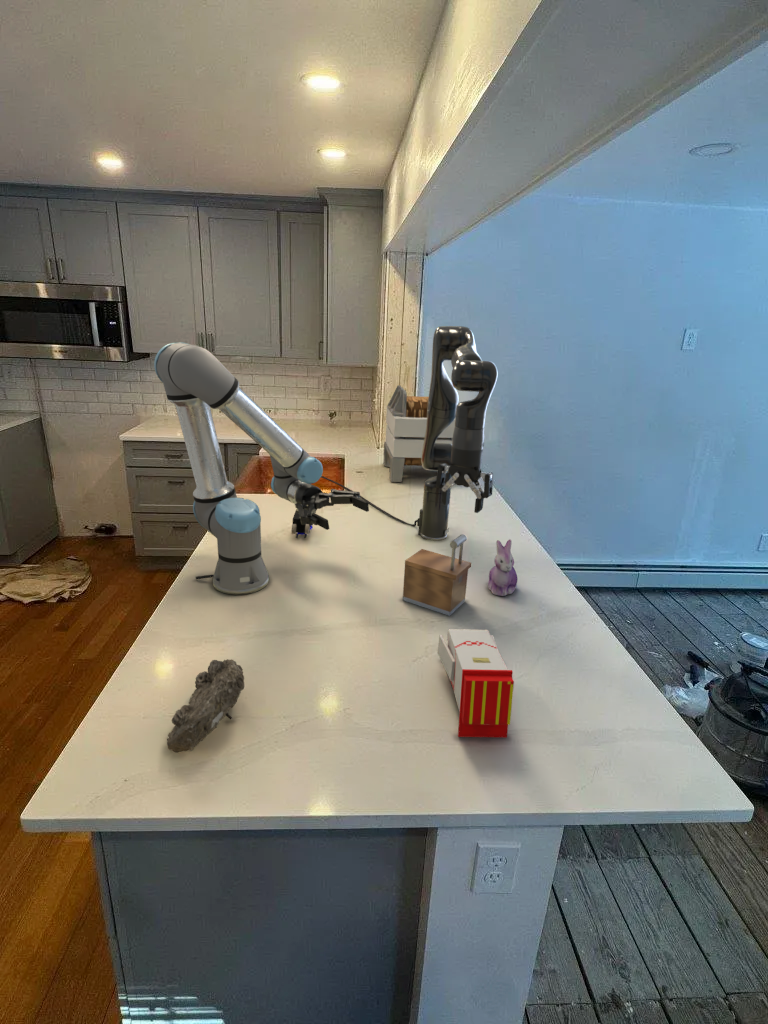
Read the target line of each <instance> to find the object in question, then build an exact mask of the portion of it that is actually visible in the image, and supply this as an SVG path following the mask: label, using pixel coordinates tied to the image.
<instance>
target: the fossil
mask: <svg viewBox="0 0 768 1024" xmlns="http://www.w3.org/2000/svg"><path fill="white" fill-rule="evenodd" d="M243 670H244V669H243V667H242V665H240V664H237V662H236V661H235V660H234V659H232V658H231V659H227V658H226V659H224V660H223V661H222V660H217V659H212V660H211V661H210V663H209V665H208V666H207V671H201V672H199V673H198V674H197V675H196V676H195V680H194V684H195V685H194V687H195V689H194V690H193V693H192V694H191V697H190V698H189V700H188V704H184V705H182V706H181V707H180V709H177V710H176V711H175V713H174V715H173V716H172V718H171V723H172V724H173V727H172V730H171V731H170V732H168V734H167V738H166V741H167V742H166V745H167V749H168V750H169V751H173V752H174V753H176V754H178V753H182V752H188V751H189V752H192V751H193V750H195V748H196V747H197V746H199V744H200V743H201V742H203V741H204V740H205V739H206V738H207V737H208V736H209V735H210V734H211V733H212V732H214V730H215V729H217V727H218V726H219V724H220V722H221V721H222V720H223V719H224V718H225V716H226V717H227V719H229V720H233V717H232V715H230V714H229V710H230V709H231V708H234V706H235V704H236V703H237V702H238V699H239V697H240V695H241V693H242V691H243V690H245V689H244V688H245V675H244V671H243Z"/></svg>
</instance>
